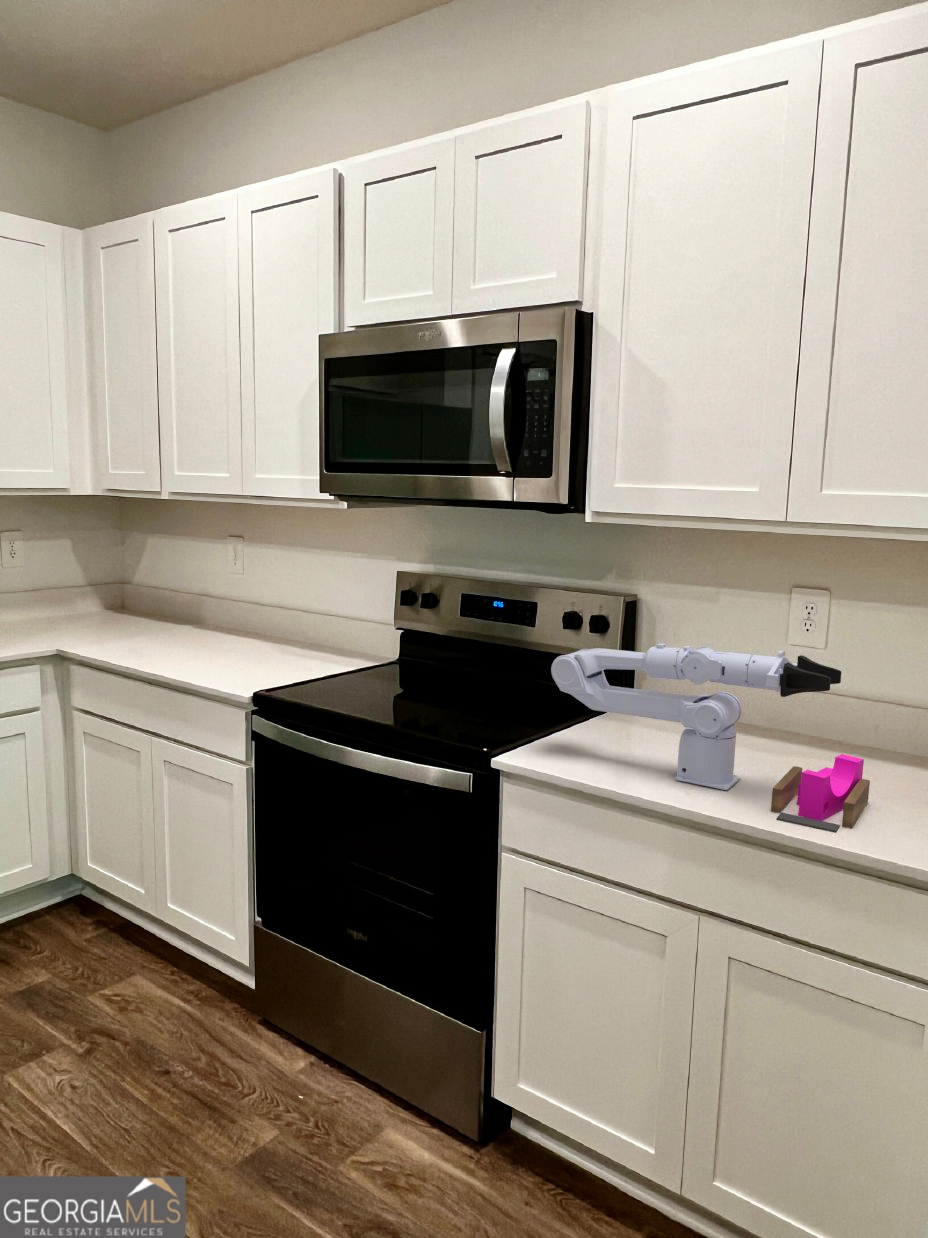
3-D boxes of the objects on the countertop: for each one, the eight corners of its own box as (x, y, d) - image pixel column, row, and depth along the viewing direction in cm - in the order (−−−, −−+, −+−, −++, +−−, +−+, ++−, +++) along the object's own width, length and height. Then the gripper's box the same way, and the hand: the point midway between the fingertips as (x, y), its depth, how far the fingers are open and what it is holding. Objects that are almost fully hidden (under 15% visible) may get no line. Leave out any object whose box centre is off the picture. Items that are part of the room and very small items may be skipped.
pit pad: (776, 819, 145) (776, 818, 144) (781, 814, 147) (781, 812, 147) (835, 832, 140) (836, 830, 140) (839, 826, 142) (839, 825, 142)
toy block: (824, 791, 159) (827, 750, 158) (859, 801, 154) (864, 759, 153) (783, 812, 148) (787, 768, 147) (820, 823, 144) (824, 778, 143)
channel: (770, 811, 148) (772, 787, 148) (791, 787, 160) (793, 766, 159) (852, 828, 141) (854, 804, 141) (867, 803, 153) (870, 780, 152)
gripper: (740, 653, 150) (826, 662, 142) (766, 643, 161) (846, 651, 154) (738, 695, 150) (823, 706, 143) (763, 682, 162) (843, 691, 155)
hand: (835, 680), depth 148 cm, fingers open, 7 cm apart
